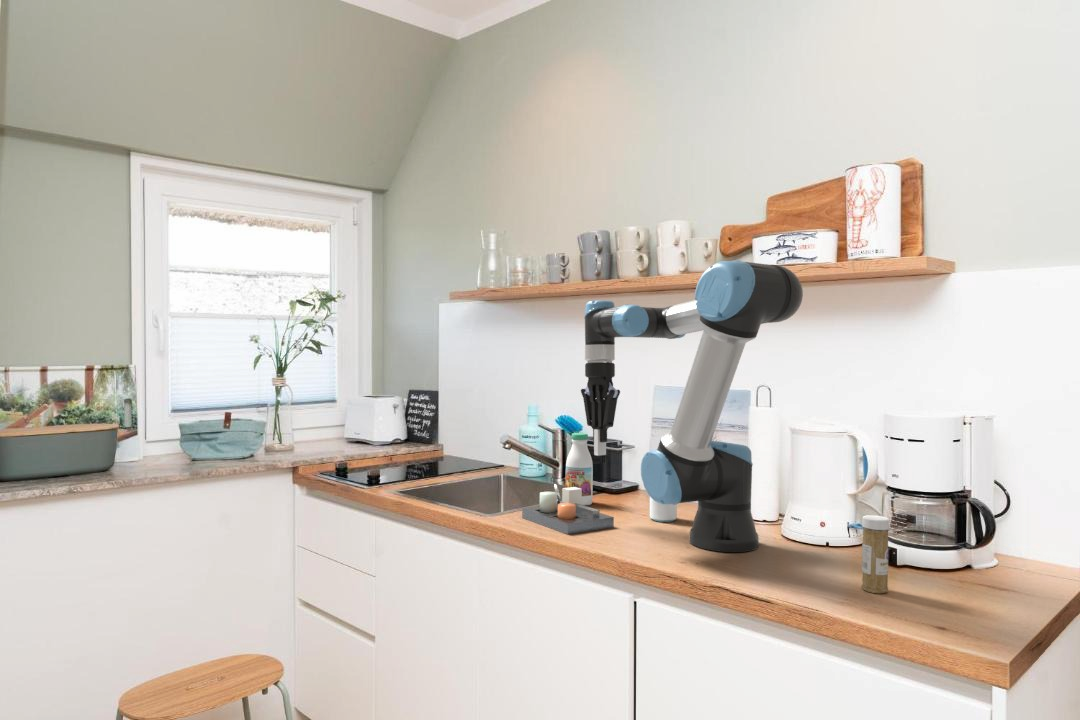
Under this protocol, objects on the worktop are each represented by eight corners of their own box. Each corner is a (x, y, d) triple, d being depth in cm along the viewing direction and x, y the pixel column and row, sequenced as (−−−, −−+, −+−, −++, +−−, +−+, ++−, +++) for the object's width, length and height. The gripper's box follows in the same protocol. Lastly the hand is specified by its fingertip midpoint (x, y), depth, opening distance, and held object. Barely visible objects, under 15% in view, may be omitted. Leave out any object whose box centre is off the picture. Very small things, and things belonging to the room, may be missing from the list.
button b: (560, 511, 184) (560, 493, 184) (545, 513, 182) (546, 495, 182) (550, 508, 188) (550, 491, 188) (536, 510, 185) (536, 492, 185)
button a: (579, 523, 177) (579, 505, 177) (564, 525, 175) (564, 507, 175) (568, 520, 181) (568, 502, 181) (554, 522, 179) (554, 504, 179)
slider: (581, 502, 187) (581, 488, 187) (569, 503, 185) (569, 490, 185) (574, 500, 190) (574, 486, 190) (562, 501, 187) (562, 488, 187)
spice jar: (889, 595, 130) (890, 520, 130) (861, 592, 132) (862, 518, 131) (887, 588, 134) (888, 515, 134) (860, 585, 136) (861, 513, 136)
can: (675, 517, 191) (676, 471, 191) (678, 523, 184) (678, 476, 184) (648, 516, 192) (649, 470, 192) (650, 522, 185) (650, 475, 185)
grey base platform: (613, 527, 179) (614, 495, 179) (567, 534, 171) (568, 501, 171) (564, 511, 196) (565, 482, 196) (520, 517, 188) (521, 487, 188)
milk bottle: (567, 500, 211) (568, 431, 211) (594, 501, 209) (595, 432, 209) (563, 505, 203) (564, 434, 203) (590, 507, 202) (591, 435, 202)
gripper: (628, 361, 181) (628, 456, 181) (595, 362, 192) (595, 451, 191) (605, 361, 177) (605, 458, 176) (572, 362, 187) (572, 453, 187)
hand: (600, 454), depth 184 cm, fingers closed
